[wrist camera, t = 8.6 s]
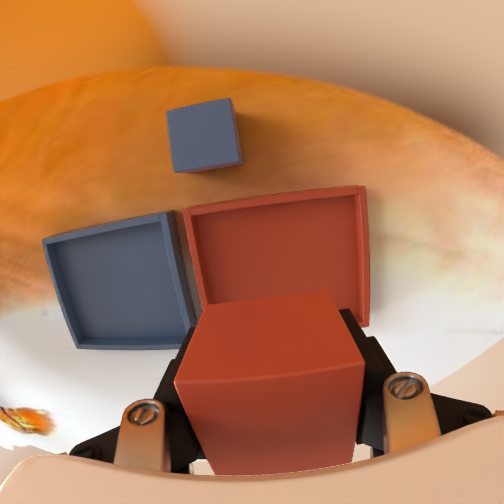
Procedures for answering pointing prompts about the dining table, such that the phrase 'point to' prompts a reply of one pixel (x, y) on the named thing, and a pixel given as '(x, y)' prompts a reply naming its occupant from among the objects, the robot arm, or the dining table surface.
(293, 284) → the red tray
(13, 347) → the dining table surface
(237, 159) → the blue block
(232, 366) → the red block
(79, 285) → the blue tray
